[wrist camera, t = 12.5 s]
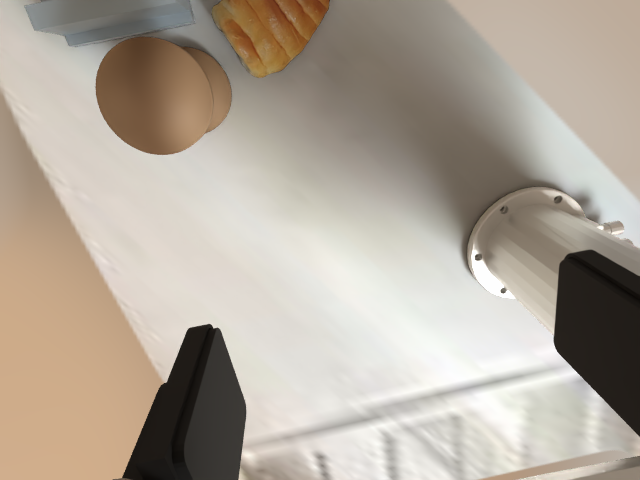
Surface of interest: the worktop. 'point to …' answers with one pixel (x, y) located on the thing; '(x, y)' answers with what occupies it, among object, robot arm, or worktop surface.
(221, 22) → the pastry
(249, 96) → the worktop surface
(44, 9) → the grey rectangular frame
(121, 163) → the worktop surface
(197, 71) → the wooden mushroom
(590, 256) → the robot arm
